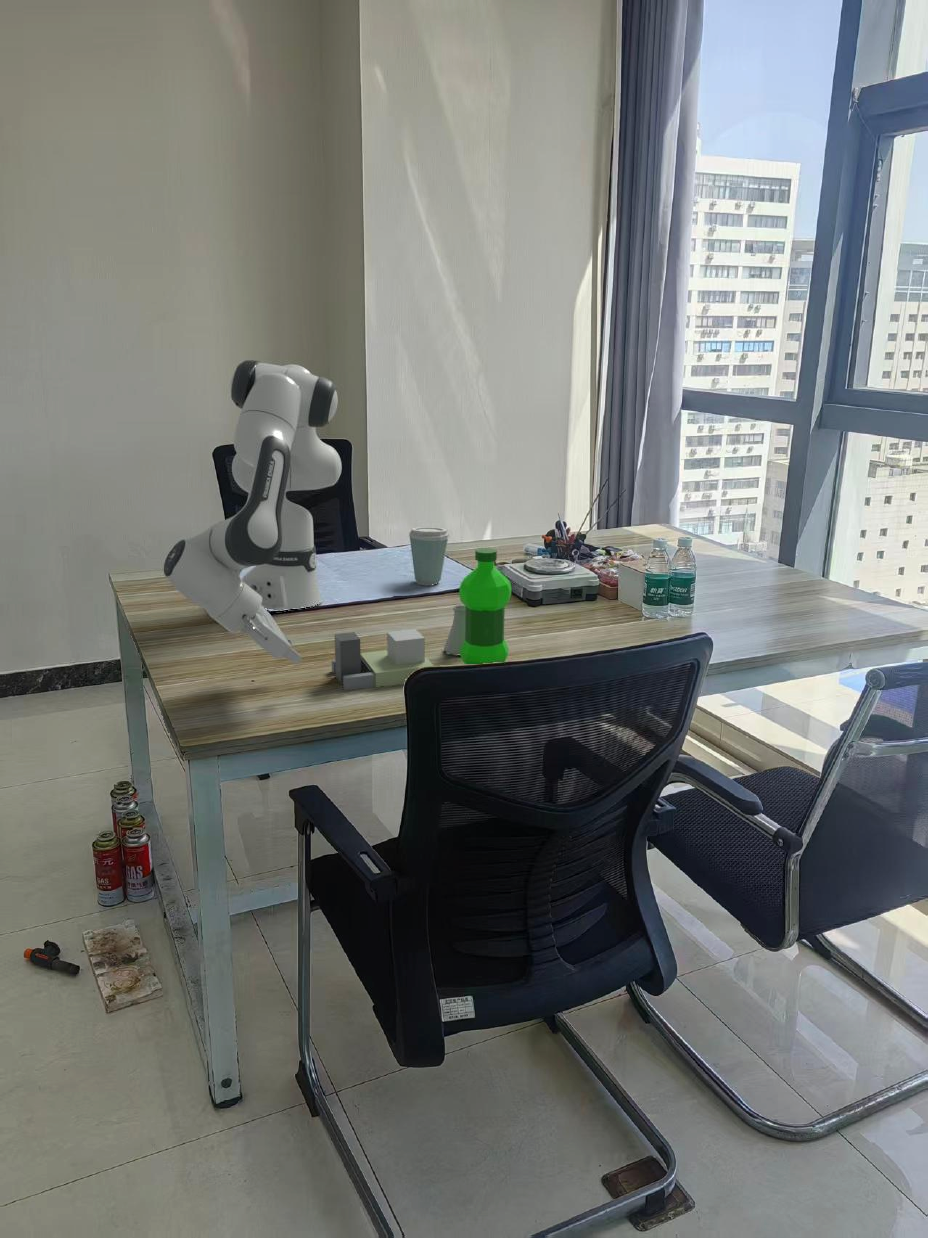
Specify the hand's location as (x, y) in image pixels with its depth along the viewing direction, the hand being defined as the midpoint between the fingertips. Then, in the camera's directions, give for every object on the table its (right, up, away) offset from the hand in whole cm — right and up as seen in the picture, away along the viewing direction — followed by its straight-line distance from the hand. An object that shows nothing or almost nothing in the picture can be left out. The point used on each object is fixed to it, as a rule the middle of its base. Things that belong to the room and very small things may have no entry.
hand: (294, 652), depth 189 cm
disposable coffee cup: (+23, +16, +74) cm, 79 cm away
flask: (+32, -1, +22) cm, 39 cm away
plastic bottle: (+37, -4, +12) cm, 39 cm away
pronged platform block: (+17, -5, +9) cm, 20 cm away
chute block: (+10, -6, +6) cm, 13 cm away
